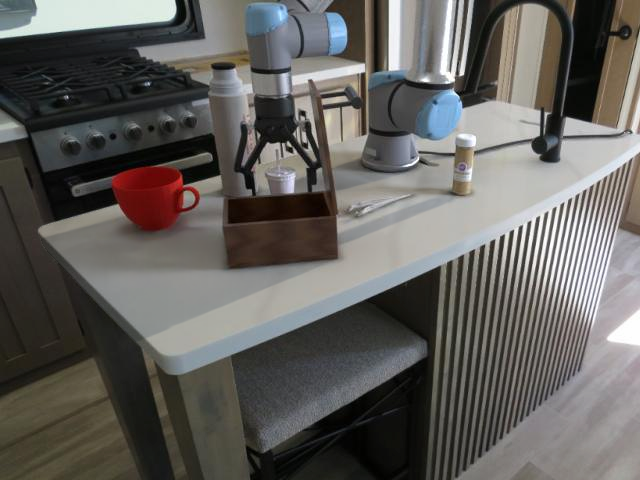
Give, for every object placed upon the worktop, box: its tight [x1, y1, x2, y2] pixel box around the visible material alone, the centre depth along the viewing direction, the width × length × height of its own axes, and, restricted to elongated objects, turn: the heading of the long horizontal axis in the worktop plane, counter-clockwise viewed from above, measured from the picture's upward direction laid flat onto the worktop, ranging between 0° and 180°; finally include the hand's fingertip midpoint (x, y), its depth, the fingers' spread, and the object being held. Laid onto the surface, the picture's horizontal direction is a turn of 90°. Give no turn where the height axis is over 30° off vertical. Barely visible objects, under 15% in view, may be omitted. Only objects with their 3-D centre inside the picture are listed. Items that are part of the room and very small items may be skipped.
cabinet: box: [221, 190, 339, 269], centre depth 106 cm, size 20×13×8 cm, turn 104°
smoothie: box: [264, 148, 297, 195], centre depth 118 cm, size 6×6×14 cm
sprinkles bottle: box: [451, 133, 477, 196], centre depth 131 cm, size 5×5×13 cm
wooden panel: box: [307, 78, 364, 216], centre depth 101 cm, size 21×13×8 cm
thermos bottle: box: [207, 61, 259, 197], centre depth 124 cm, size 8×8×28 cm
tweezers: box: [346, 193, 412, 218], centre depth 127 cm, size 17×5×2 cm, turn 132°
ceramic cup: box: [110, 166, 201, 232], centre depth 113 cm, size 13×17×10 cm
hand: (283, 201), depth 120 cm, fingers open, 11 cm apart
